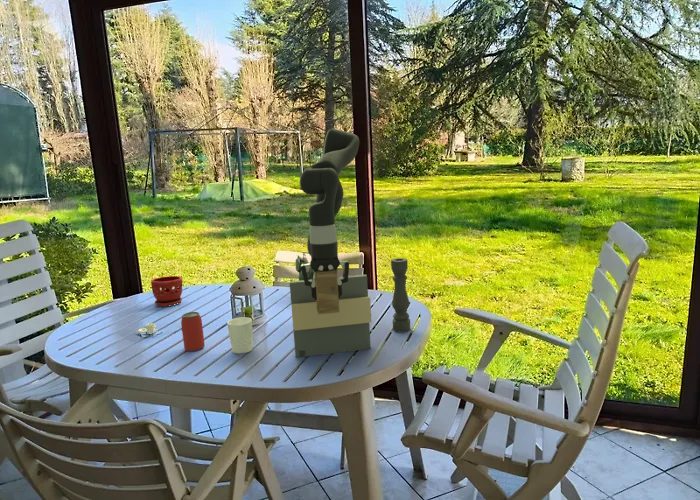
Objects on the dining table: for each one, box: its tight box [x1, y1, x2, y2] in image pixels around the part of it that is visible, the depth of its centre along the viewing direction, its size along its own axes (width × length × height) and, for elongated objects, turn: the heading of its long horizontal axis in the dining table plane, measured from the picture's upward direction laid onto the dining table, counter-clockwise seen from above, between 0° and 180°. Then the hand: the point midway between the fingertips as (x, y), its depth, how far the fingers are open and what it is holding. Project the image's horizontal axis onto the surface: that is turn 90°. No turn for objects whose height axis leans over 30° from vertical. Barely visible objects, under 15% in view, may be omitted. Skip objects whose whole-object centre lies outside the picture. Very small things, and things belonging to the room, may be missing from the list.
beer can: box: [180, 311, 205, 352], centre depth 164 cm, size 7×7×12 cm
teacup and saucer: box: [137, 322, 157, 334], centre depth 183 cm, size 9×8×4 cm
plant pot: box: [150, 275, 183, 307], centre depth 220 cm, size 13×13×12 cm
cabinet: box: [314, 269, 339, 314], centre depth 140 cm, size 10×6×12 cm, turn 8°
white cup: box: [226, 316, 254, 355], centre depth 161 cm, size 8×8×10 cm
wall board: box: [289, 274, 372, 358], centre depth 154 cm, size 12×24×24 cm, turn 99°
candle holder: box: [390, 257, 411, 333], centre depth 170 cm, size 6×6×25 cm
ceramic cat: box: [295, 252, 314, 281], centre depth 219 cm, size 20×6×20 cm, turn 23°
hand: (327, 297), depth 140 cm, fingers closed on cabinet, 6 cm apart
